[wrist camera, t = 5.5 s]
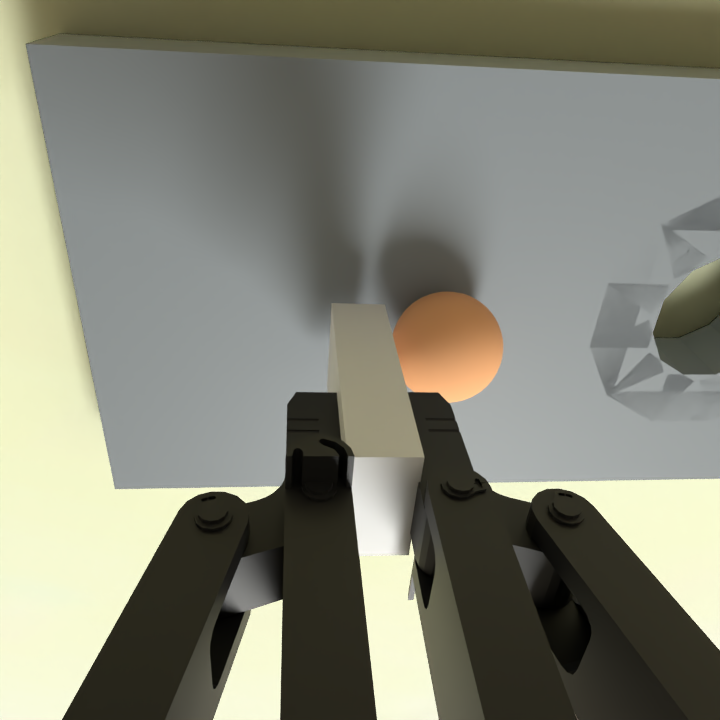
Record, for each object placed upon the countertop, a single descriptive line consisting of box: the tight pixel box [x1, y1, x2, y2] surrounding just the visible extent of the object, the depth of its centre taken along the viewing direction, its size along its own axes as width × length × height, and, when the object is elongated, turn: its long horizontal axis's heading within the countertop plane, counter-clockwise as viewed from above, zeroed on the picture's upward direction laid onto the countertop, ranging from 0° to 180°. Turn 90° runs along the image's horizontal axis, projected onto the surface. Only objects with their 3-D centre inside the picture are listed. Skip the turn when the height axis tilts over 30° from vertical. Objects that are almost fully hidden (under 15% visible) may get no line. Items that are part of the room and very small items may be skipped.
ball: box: [393, 292, 503, 403], centre depth 18 cm, size 3×3×3 cm
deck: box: [26, 34, 720, 489], centre depth 21 cm, size 28×14×2 cm, turn 87°
